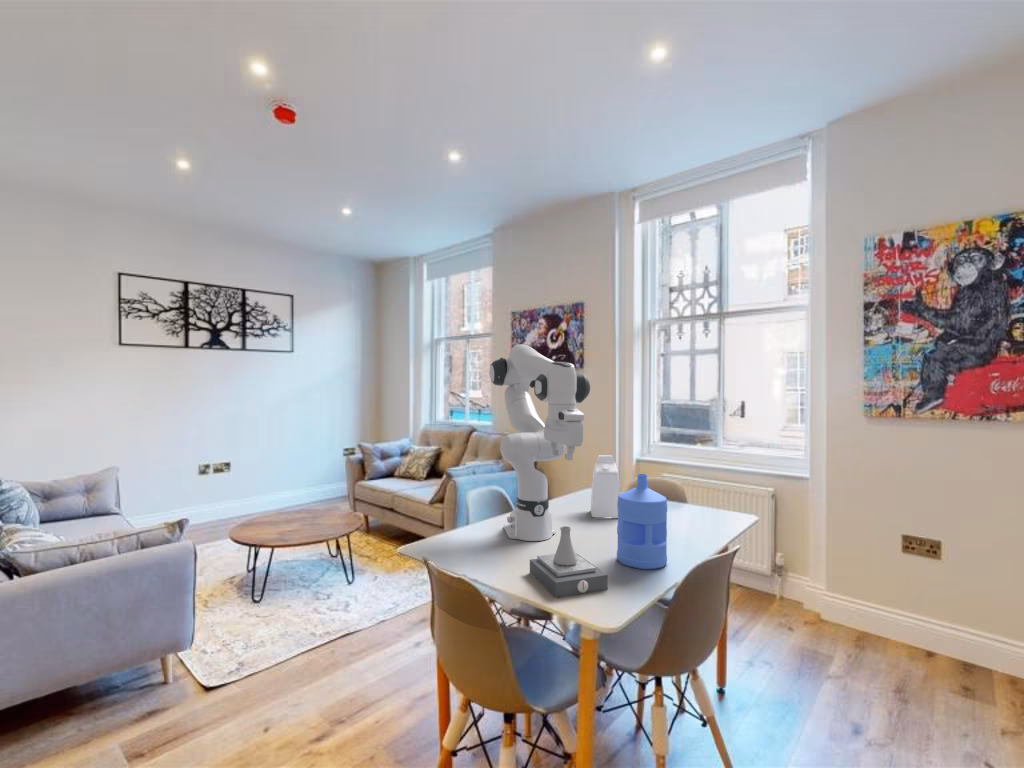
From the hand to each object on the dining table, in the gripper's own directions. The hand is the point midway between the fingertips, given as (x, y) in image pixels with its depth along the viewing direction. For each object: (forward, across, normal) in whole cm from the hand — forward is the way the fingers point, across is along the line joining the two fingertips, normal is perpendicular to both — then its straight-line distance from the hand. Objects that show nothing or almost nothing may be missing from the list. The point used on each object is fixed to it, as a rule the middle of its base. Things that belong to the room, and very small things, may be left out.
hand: (561, 457), depth 150 cm
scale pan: (+30, +9, -3) cm, 31 cm away
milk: (+34, -49, +46) cm, 76 cm away
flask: (+29, +9, -3) cm, 31 cm away
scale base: (+34, +10, -3) cm, 36 cm away
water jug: (+34, +4, +27) cm, 44 cm away
